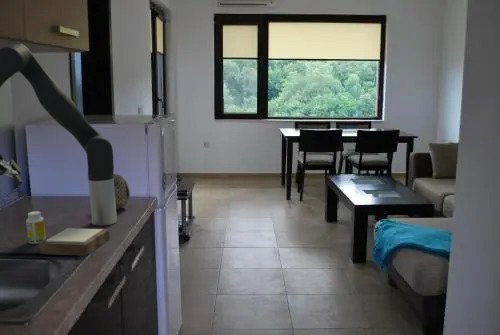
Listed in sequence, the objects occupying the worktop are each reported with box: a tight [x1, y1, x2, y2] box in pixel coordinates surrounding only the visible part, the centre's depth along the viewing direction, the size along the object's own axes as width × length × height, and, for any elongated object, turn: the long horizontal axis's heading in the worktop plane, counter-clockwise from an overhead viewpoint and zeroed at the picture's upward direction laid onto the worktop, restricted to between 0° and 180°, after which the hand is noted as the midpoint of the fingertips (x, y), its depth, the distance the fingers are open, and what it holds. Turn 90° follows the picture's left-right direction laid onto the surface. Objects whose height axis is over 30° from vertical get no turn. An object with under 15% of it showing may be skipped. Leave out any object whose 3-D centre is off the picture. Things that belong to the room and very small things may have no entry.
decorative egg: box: [113, 173, 131, 210], centre depth 206 cm, size 12×12×15 cm
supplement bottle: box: [25, 210, 47, 245], centre depth 166 cm, size 6×6×10 cm
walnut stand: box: [38, 227, 111, 256], centre depth 161 cm, size 16×16×4 cm
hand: (9, 186), depth 169 cm, fingers open, 8 cm apart
